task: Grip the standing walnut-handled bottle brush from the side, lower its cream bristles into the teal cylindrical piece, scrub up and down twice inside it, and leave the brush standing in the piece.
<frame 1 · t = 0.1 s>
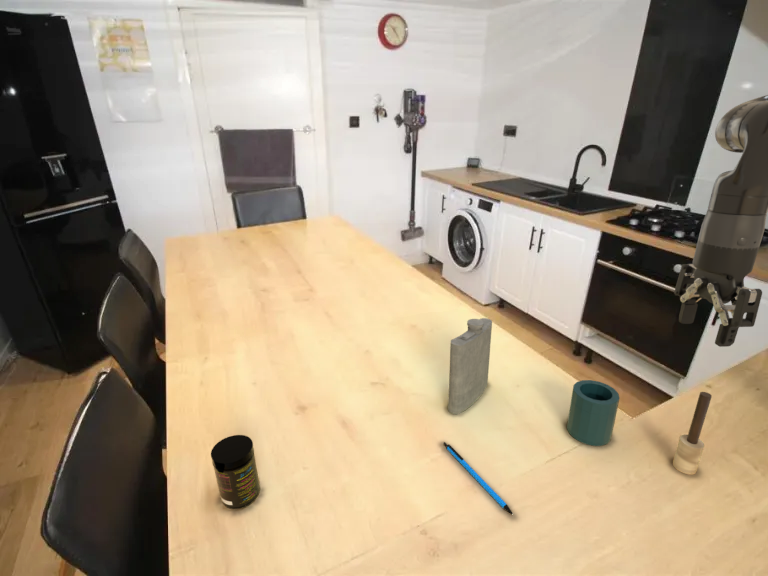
hand: (703, 333, 69), 26 cm above the table, tool pointing down, fingers open, 8 cm apart
supplement container: (241, 496, 72), on the table
pen: (474, 477, 75), on the table
brush: (684, 467, 76), on the table
teal cylindrical piece: (588, 432, 85), on the table
hip flask: (470, 397, 97), on the table
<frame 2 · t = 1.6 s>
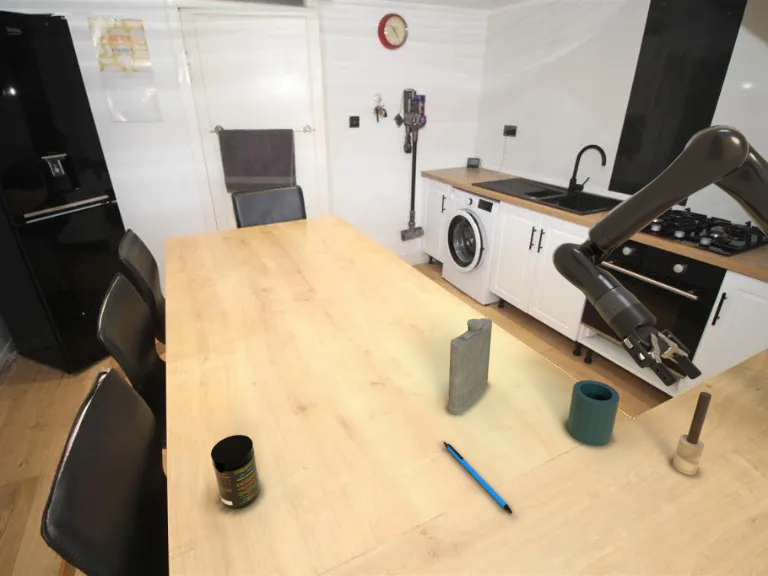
hand: (685, 380, 75), 15 cm above the table, tool tilted 60°, fingers open, 8 cm apart
nothing on the table moved.
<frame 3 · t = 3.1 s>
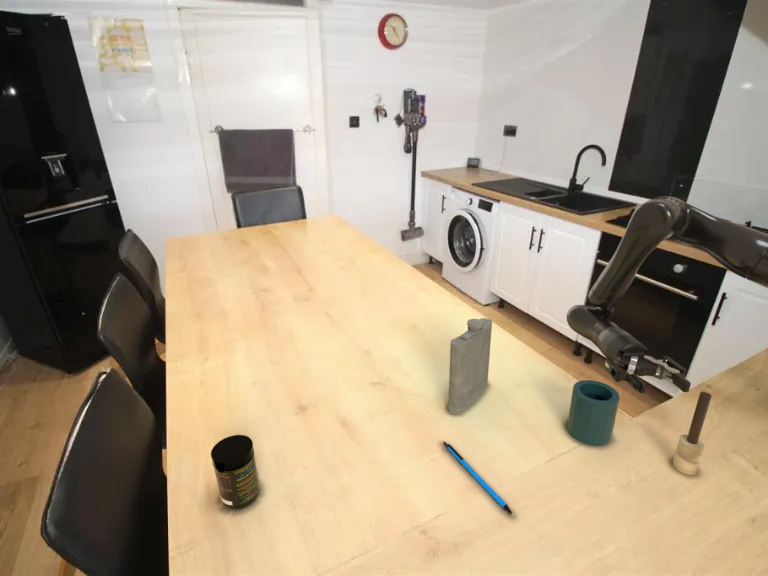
hand: (666, 388, 80), 11 cm above the table, tool horizontal, fingers open, 8 cm apart
nothing on the table moved.
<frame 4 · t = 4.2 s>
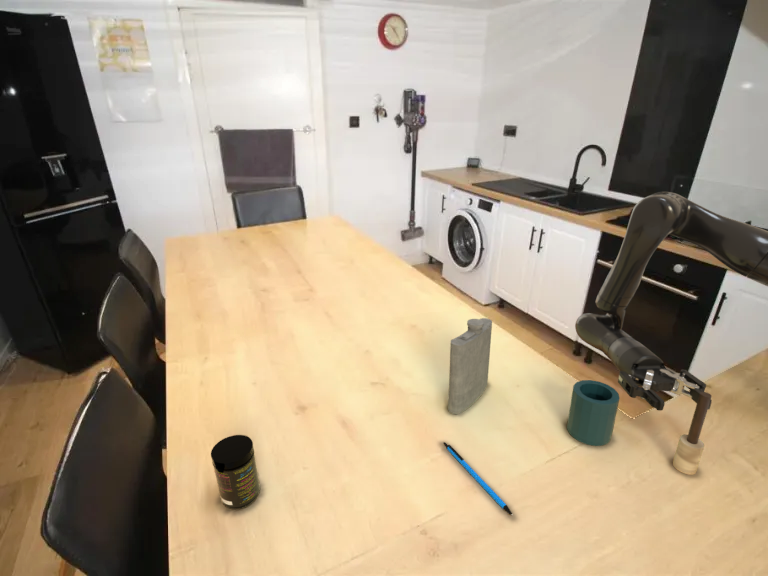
hand: (685, 406, 75), 11 cm above the table, tool horizontal, fingers open, 8 cm apart
nothing on the table moved.
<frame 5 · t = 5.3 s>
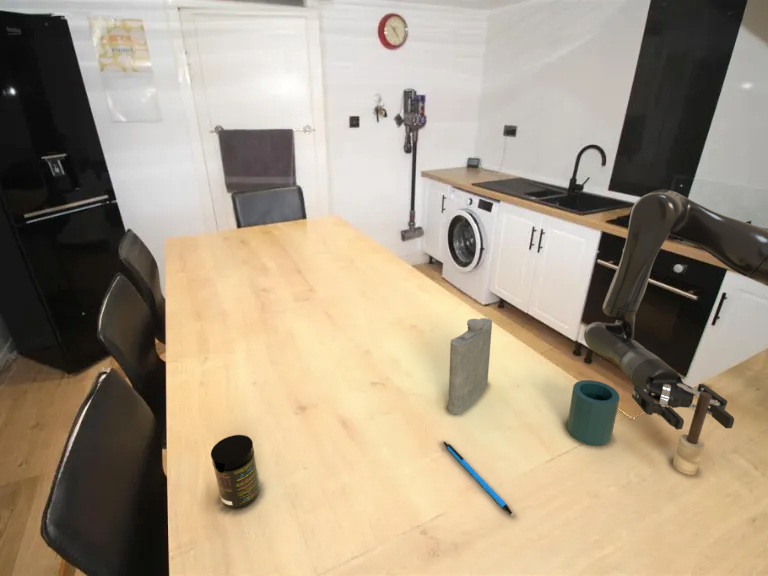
hand: (706, 425, 70), 11 cm above the table, tool horizontal, fingers open, 8 cm apart
nothing on the table moved.
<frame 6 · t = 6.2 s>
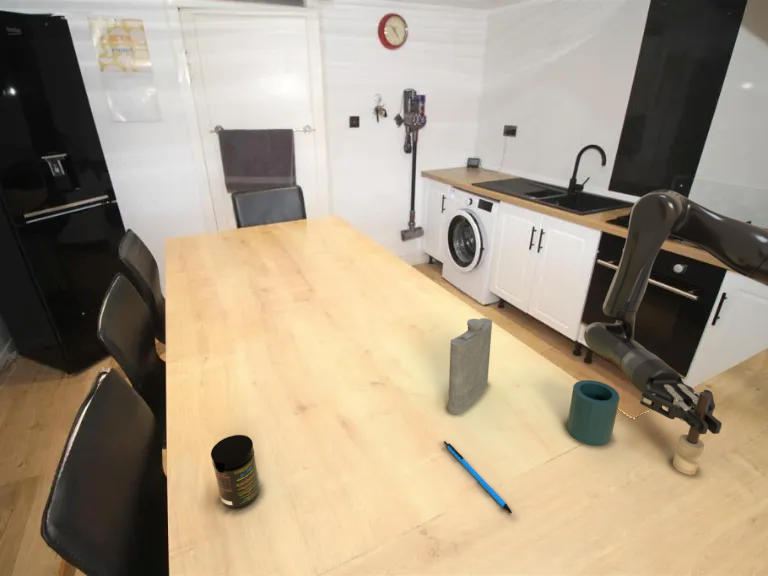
hand: (711, 429, 69), 11 cm above the table, tool horizontal, fingers closed on brush
brush: (684, 467, 76), on the table, touching gripper
everything else where it was.
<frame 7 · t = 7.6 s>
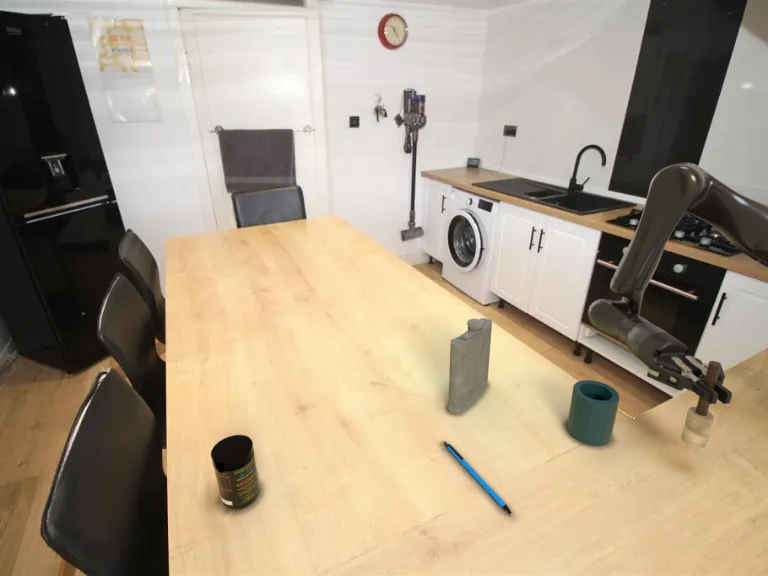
hand: (721, 399, 67), 17 cm above the table, tool horizontal, fingers closed on brush
brush: (693, 440, 73), point 6 cm above the table, touching gripper
everything else where it was.
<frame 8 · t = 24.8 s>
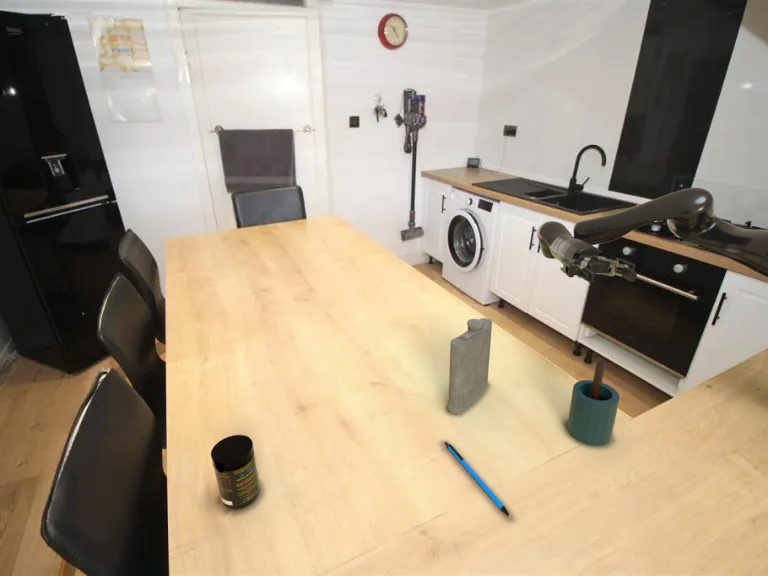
hand: (613, 278, 85), 30 cm above the table, tool horizontal, fingers open, 8 cm apart
brush: (588, 428, 85), point 1 cm above the table, touching teal cylindrical piece
everything else where it was.
at the end: brush 0.1 cm off-centre in the teal cylindrical piece, point 0.8 cm above the teal cylindrical piece's base; the gripper is holding nothing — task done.
